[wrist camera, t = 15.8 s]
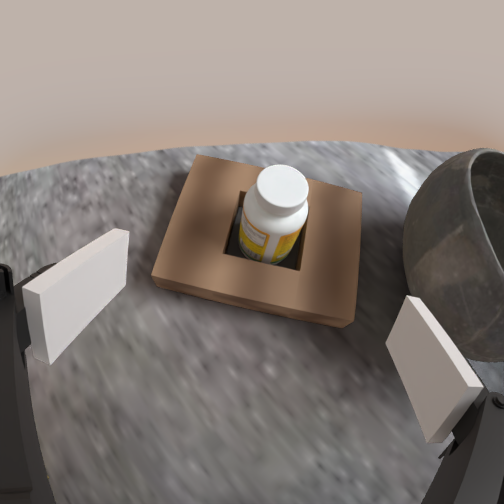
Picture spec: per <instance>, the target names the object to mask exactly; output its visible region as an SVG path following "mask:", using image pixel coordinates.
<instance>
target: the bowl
mask: <svg viewBox="0 0 504 504" xmlns="http://www.w3.org/2000/svg"><path fill="white" fill-rule="evenodd" d="M403 263H404V269H405V275H406V279H407V284H408V287H409V291H410V294H411V296H412V297H417V298H420V299H421V301H422V302H423V303H424V304H425V306H426V307H427V308H428V310H429V311H430V312H431V313H432V315H433V316H434V317H435V319H436V320H437V321H438V323H439V324H440V325H441V327H442V328H443V329H444V331H445V332H446V333H447V335H448V336H449V337H450V339H451V340H452V342H453V343H454V344H455V346H456V347H457V349H458V350H459V351H460V353H461V354H462V355H463V356H464V357H465V358H468V359H471V360H475V361H480V362H503V361H504V152H501V151H498V150H495V149H489V148H479V149H473V150H470V151H466V152H463V153H460V154H458V155H455V156H453V157H452V158H450V159H448V160H447V161H445V162H444V163H443V164H441V165H440V166H438V167H437V168H436V169H435V170H434V171H433V172H432V173H431V174H430V175H429V176H428V178H427V179H426V180H425V181H424V183H423V184H422V186H421V187H420V189H419V190H418V192H417V193H416V195H415V196H414V198H413V199H412V201H411V203H410V205H409V209H408V212H407V215H406V218H405V222H404V230H403Z"/></svg>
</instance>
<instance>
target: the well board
mask: <svg viewBox="0 0 504 504" xmlns="http://www.w3.org/2000/svg"><path fill="white" fill-rule="evenodd" d="M264 169H265V168H262V167H258V166H253V165H248V164H244V163H239V162H234V161H229V160H224V159H219V158H214V157H209V156H203V155H198V154H197V155H196V158H195V160H194V162H193V165H192V167H191V170H190V172H189V174H188V177H187V179H186V182H185V184H184V187H183V189H182V192H181V194H180V197H179V199H178V202H177V205H176V207H175V210H174V212H173V215H172V218H171V220H170V223H169V226H168V228H167V231H166V234H165V237H164V239H163V242H162V245H161V248H160V250H159V253H158V256H157V259H156V262H155V265H154V268H153V271H152V274H151V276H152V278H153V280H154V282H155V284H156V286H157V287H161V288H165V289H168V290H172V291H176V292H180V293H184V294H188V295H192V296H196V297H200V298H204V299H208V300H212V301H216V302H221V303H225V304H229V305H233V306H238V307H242V308H246V309H251V310H255V311H260V312H264V313H269V314H273V315H278V316H283V317H288V318H292V319H297V320H302V321H307V322H312V323H317V324H322V325H327V326H332V327H338V328H344V327H345V326H347V325H349V324H350V323H352V322H353V321H354V317H355V308H356V297H357V286H358V273H359V258H360V241H361V216H362V193H361V192H357V191H354V190H350V189H346V188H343V187H339V186H335V185H332V184H328V183H324V182H320V181H316V180H312V179H308V178H305V179H306V181H307V183H308V187H309V191H308V196H307V198H306V200H307V203H308V215H307V218H306V221H305V223H304V225H303V227H302V231H300V233H299V235H298V237H297V239H296V241H295V243H294V245H293V247H292V249H291V251H290V253H289V254H288V256H287V257H286V258H285V259H284V260H282V261H281V262H279V263H277V264H274V265H270V264H266V263H261V262H257V261H252V260H249V259H248V258H246V257H245V255H244V254H243V253H242V251H241V249H240V246H239V241H238V237H239V230H240V223H241V216H242V210H243V203H244V199H245V196H246V193H247V192H248V190H249V189H250V188H251V187H252V186H253V185H254V184H255V183H256V181H257V177H258V175H259V174H260V172H261V171H262V170H264ZM238 207H239V209H238ZM237 210H238V212H237ZM236 213H237V216H236ZM235 217H236V220H235ZM234 221H235V223H234ZM233 224H234V227H233ZM232 228H233V231H232ZM231 231H232V234H231ZM300 234H301V237H300ZM230 235H231V238H230ZM229 239H230V242H229ZM299 240H300V244H299ZM228 242H229V245H228ZM227 246H228V249H227ZM298 247H299V250H298ZM226 250H227V253H226ZM297 253H298V256H297ZM296 259H297V263H296ZM295 265H296V269H295Z"/></svg>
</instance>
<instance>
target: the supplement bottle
mask: <svg viewBox="0 0 504 504" xmlns="http://www.w3.org/2000/svg"><path fill="white" fill-rule="evenodd" d="M308 191H309V187H308V183H307V181H306V179H305V177H304V176H303V175H302V174H301V173H300V172H299V171H298V170H296V169H294V168H292V167H290V166H286V165H272V166H269V167H267V168H265V169H264V170H262V171H261V172H260V174H259V175H258V177H257V181H256V183H255V184H254V185H253V186H252V187H251V188H250V189H249V190H248V192H247V193H246V196H245V199H244V203H243V210H242V216H241V223H240V230H239V237H238V241H239V246H240V249H241V251H242V253H243V254H244V255H245V257H246V258H248V259H249V260H252V261H257V262H261V263H266V264H270V265H274V264H277V263H279V262H281V261H282V260H284V259H285V258H286V257H287V256H288V254H289V253H290V251H291V249H292V247H293V245H294V243H295V241H296V239H297V237H298V235H299V233H300V231H301V229H302V227H303V225H304V223H305V221H306V218H307V215H308V203H307V200H306V198H307V196H308Z"/></svg>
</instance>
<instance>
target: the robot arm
mask: <svg viewBox="0 0 504 504" xmlns="http://www.w3.org/2000/svg"><path fill="white" fill-rule="evenodd" d="M128 242H129V231H125V230H121V229H117V228H114V229H113V230H111V231H109V232H108V233H106V234H104V235H102V236H101V237H99V238H97V239H96V240H94V241H92V242H91V243H89V244H88V245H86V246H84V247H83V248H81V249H79V250H78V251H76V252H75V253H73V254H71V255H70V256H68V257H67V258H65V259H64V260H62V261H60V262H59V263H53V264H50V265H47V266H44V267H43V268H41V269H39V270H38V271H37V272H36V273H33V274H32V275H30V277H27V278H26V279H24V280H23V281H21V282H20V283H18V284H17V285H15V286H14V287H13V278H12V270H11V268H10V267H9V266H8V265H5V264H0V504H56V502H55V499H54V496H53V493H52V490H51V487H50V484H49V480H48V477H47V473H46V469H45V466H44V462H43V458H42V454H41V450H40V445H39V441H38V436H37V431H36V426H35V421H34V415H33V409H32V403H31V396H30V389H29V381H28V371H27V361H26V355H25V349H26V348H27V347H28V346H29V345H30V344H31V348H32V352H33V357H34V358H36V359H38V360H40V361H42V362H44V363H46V364H48V365H51V364H52V363H53V362H54V361H55V360H56V359H57V357H58V356H59V355H60V354H61V353H62V352H63V351H64V350H65V349H66V347H67V346H68V345H69V344H70V343H71V342H72V341H73V340H74V339H75V338H76V337H77V335H78V334H79V333H80V332H81V331H82V330H83V329H84V328H85V327H86V326H87V325H88V324H89V323H90V322H91V320H92V319H93V318H94V317H95V316H96V315H97V314H98V313H99V312H100V311H101V310H102V309H103V308H104V307H105V306H106V305H107V304H108V303H109V302H110V301H111V300H112V299H113V298H114V297H115V295H116V294H117V293H118V292H119V291H120V290H121V289H122V288H123V287H124V286H125V285H126V270H127V255H128ZM385 344H386V346H387V348H388V350H389V353H390V355H391V357H392V359H393V362H394V364H395V366H396V368H397V371H398V373H399V375H400V378H401V380H402V382H403V385H404V387H405V389H406V392H407V394H408V397H409V399H410V401H411V404H412V406H413V409H414V411H415V414H416V416H417V419H418V421H419V424H420V427H421V429H422V432H423V434H424V437H425V440H426V442H427V443H442V442H443V441H444V440H445V439H446V438H447V436H448V435H449V434H450V433H451V431H452V433H453V435H454V437H455V439H454V440H453V441H452V442H451V443H450V444H449V446H448V447H447V448H446V449H445V450H444V451H443V453H442V454H441V455H440V456H439V457H438V458H439V459H441V458H442V457H443V456H444V458H443V460H442V463H441V465H440V467H439V469H438V471H437V473H436V475H435V477H434V480H433V482H432V484H431V486H430V488H429V489H428V491H427V493H426V495H425V497H424V499H423V501H422V503H421V504H504V396H503V395H502V394H499V393H497V392H489V391H488V389H487V388H486V386H485V385H484V383H483V382H482V380H481V379H480V377H479V376H478V375H476V372H475V370H474V369H473V368H472V366H471V364H470V363H469V361H468V360H467V359H466V358H465V357H464V356H463V355H462V354H461V353H460V351H459V350H458V349H457V347H456V346H455V344H454V343H453V342H452V340H451V339H450V337H449V336H448V335H447V333H446V332H445V331H444V329H443V328H442V327H441V325H440V324H439V323H438V321H437V320H436V319H435V317H434V316H433V315H432V313H431V312H430V311H429V310H428V308H427V307H426V306H425V304H424V303H423V302H422V301H421V299H420V298H417V297H412V296H408V295H406V298H405V300H404V303H403V305H402V307H401V310H400V312H399V314H398V317H397V319H396V321H395V323H394V326H393V328H392V330H391V332H390V334H389V336H388V339H387V341H386V343H385Z"/></svg>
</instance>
